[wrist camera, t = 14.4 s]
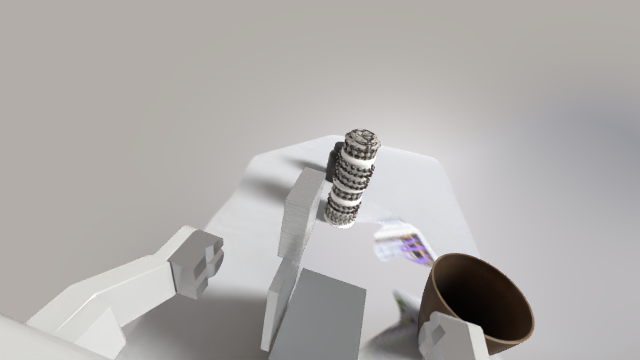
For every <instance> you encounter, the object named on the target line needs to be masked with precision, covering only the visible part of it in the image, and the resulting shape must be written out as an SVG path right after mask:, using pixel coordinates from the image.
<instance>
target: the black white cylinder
mask: <svg viewBox="0 0 640 360" xmlns="http://www.w3.org/2000/svg"><path fill="white" fill-rule="evenodd" d="M380 146H381V144H380V141H378V139H377V136H376V135H375V134H374V133H372V132H370V131H368V130H364V129H355V130H353V131H351V132H349V133H347V134H346V135H345V142H344V146H343V147H342V149H341V148H340V151H338V154H339V155H338V156H337V159H338V160H337V164H335V166H336V168H335V169H334V171H335V173H334V176H333V182H334V184H333V187H332V188H331V191H330V193H329V197H328V198H327V199H328V202H327V203H326V207H325V212H324V218H325V220H326V221H327V222H328V223H329V224H330V225H332V226H334V227H337V228H348V227H350V226H351V225H353V223H354V221H355V220H354V218H356V215H355V214H357V213H358V212H357V211H358V209H359V206H360V204H361V197H362V192H363V191H364V190H365V189H366V188H367V186H368V184H367V183H369V181H370V179H369V178H368V177H371V176H372V174H373V172H372V171H374V168H375V167H374V165H373V163H374V160H375V157H376V152H377V149H378V148H379V147H380ZM339 158H340V159H339ZM338 164H339V165H338ZM370 168H371V169H370Z"/></svg>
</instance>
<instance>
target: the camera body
mask: <svg viewBox="0 0 640 360" xmlns="http://www.w3.org/2000/svg"><path fill="white" fill-rule="evenodd" d="M365 297H366V289H363V288H360V287H357V286H354V285H351V284H348V283H345V282H343V281H339V280H336V279H333V278H331V277H328V276H325V275H322V274H319V273H316V272H313V271H310V270H308V269H304V268H303V269H302V272H301V274H300V277H299V280H298V282H297V285H296V288H295V290H294V293H293V295H292V298H291V301H290V303H289V306H288V308H287V311H286V314H285V316H284V319H283V322H282V324H281V327H280V329H279V332H278V335H277V337H276V340H275V343H274V345H273V348H272V350H271V353H270V356H269V358H268V360H357V359H358V352H359V344H360V335H361V328H362V320H363V312H364V305H365Z"/></svg>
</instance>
